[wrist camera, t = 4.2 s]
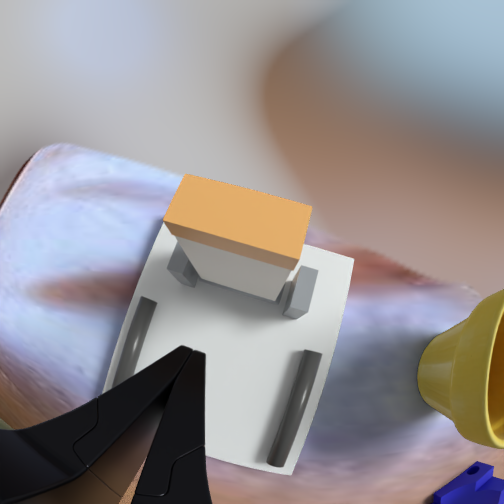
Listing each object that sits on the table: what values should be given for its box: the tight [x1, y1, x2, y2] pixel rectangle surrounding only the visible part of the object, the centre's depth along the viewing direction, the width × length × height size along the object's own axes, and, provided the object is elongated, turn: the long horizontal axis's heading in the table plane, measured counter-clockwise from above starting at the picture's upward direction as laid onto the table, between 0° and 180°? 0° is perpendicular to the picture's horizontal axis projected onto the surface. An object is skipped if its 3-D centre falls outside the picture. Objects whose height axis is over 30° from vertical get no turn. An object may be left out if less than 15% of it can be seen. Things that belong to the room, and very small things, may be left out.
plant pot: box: [417, 289, 504, 449], centre depth 13 cm, size 10×10×10 cm
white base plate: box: [102, 222, 354, 475], centre depth 16 cm, size 16×14×5 cm
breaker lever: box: [163, 174, 312, 305], centre depth 13 cm, size 2×5×9 cm, turn 73°
